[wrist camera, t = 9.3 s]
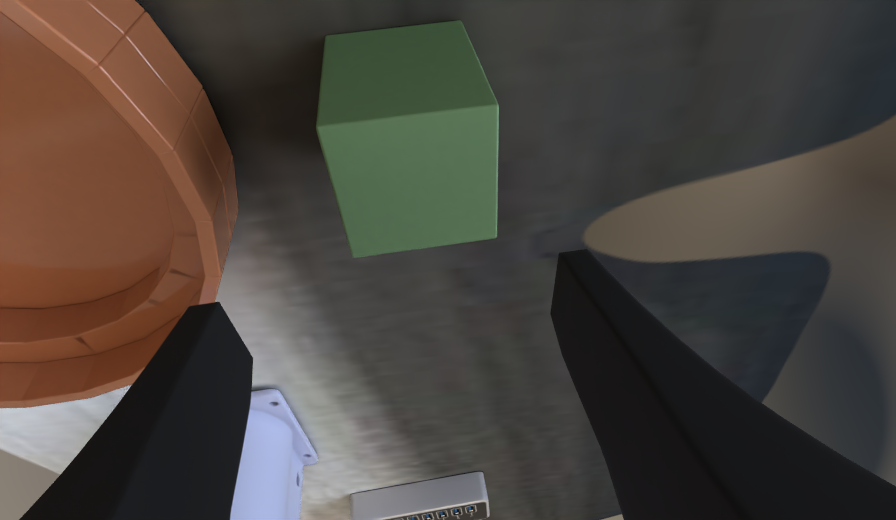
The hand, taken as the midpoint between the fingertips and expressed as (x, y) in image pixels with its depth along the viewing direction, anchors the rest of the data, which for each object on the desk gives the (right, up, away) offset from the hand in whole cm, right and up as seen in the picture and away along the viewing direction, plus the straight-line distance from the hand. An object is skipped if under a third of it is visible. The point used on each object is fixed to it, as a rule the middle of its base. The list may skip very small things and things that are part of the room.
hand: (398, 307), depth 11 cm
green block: (0, +7, +6) cm, 9 cm away
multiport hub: (-1, -18, +31) cm, 36 cm away
